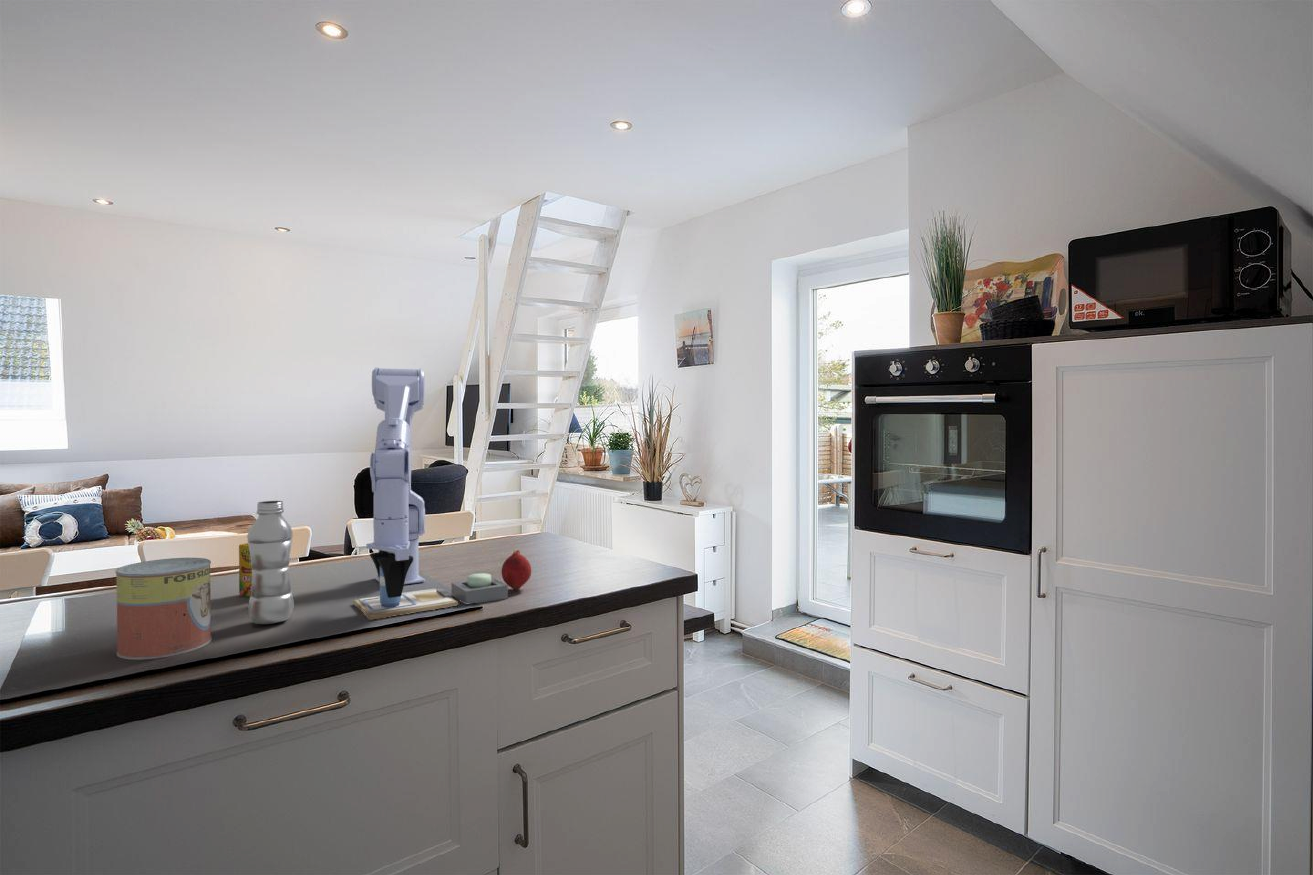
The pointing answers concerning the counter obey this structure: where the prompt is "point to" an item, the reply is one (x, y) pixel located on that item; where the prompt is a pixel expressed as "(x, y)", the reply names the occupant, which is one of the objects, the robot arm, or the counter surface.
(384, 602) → the blue capped bottle
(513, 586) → the onion
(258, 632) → the counter surface
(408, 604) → the beige tray
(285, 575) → the plastic bottle
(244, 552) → the crayon box
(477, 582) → the button
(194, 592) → the canned food
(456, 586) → the button pad
